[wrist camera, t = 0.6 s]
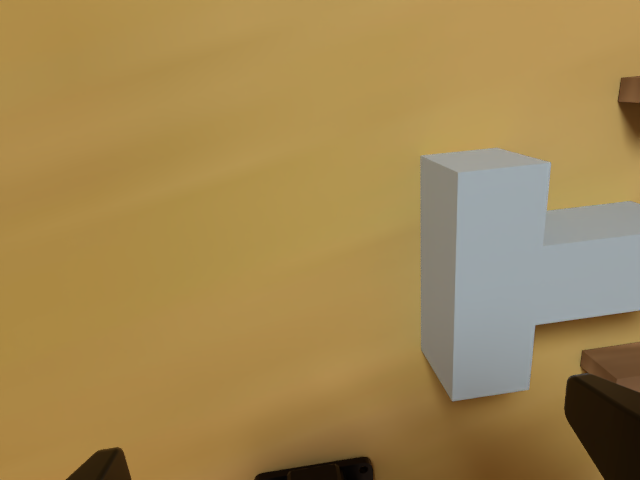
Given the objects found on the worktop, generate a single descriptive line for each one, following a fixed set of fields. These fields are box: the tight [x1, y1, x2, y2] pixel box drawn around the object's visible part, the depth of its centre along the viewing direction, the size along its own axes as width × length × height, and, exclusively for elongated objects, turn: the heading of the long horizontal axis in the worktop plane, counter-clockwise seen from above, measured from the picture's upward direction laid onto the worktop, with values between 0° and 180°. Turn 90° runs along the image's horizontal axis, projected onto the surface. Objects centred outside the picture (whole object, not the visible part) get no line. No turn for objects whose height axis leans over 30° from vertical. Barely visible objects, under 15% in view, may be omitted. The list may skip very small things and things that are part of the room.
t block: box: [421, 148, 640, 401], centre depth 20 cm, size 10×10×4 cm
